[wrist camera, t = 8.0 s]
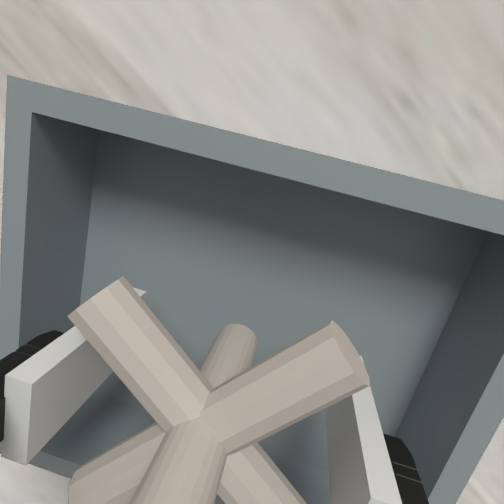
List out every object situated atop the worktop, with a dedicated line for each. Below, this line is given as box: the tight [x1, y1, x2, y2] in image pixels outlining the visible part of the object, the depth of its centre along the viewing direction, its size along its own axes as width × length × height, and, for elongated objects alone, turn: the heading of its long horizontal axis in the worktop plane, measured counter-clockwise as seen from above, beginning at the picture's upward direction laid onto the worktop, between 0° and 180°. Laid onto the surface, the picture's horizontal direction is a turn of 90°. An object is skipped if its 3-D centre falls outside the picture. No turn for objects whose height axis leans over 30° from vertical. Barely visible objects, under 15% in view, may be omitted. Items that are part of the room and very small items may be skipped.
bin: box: [0, 75, 504, 504], centre depth 16 cm, size 20×17×5 cm
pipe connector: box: [67, 276, 370, 504], centre depth 10 cm, size 10×10×10 cm
